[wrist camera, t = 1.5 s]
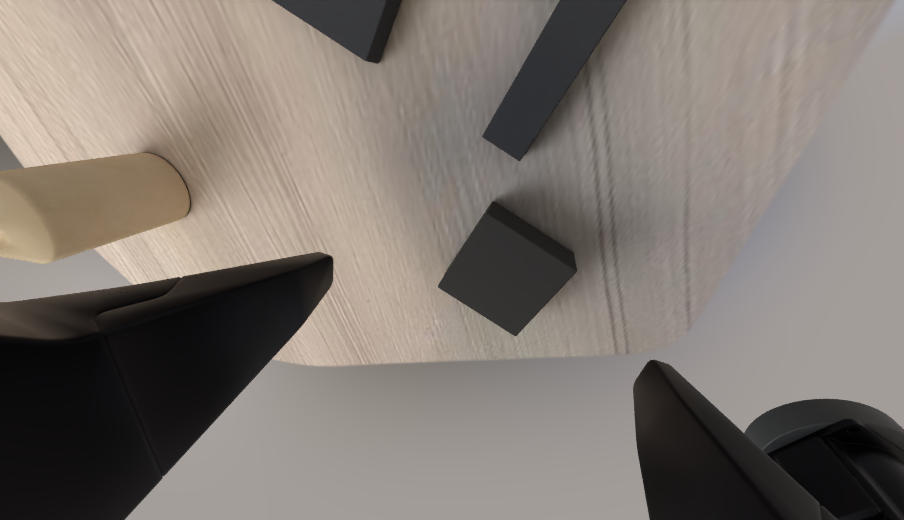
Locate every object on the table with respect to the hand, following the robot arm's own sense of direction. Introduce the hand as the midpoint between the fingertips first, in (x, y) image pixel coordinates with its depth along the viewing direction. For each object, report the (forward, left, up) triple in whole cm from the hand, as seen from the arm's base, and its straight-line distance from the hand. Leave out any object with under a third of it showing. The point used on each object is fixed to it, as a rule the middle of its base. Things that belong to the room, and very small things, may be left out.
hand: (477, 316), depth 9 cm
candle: (+24, +15, -13) cm, 31 cm away
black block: (-2, +4, -12) cm, 13 cm away
